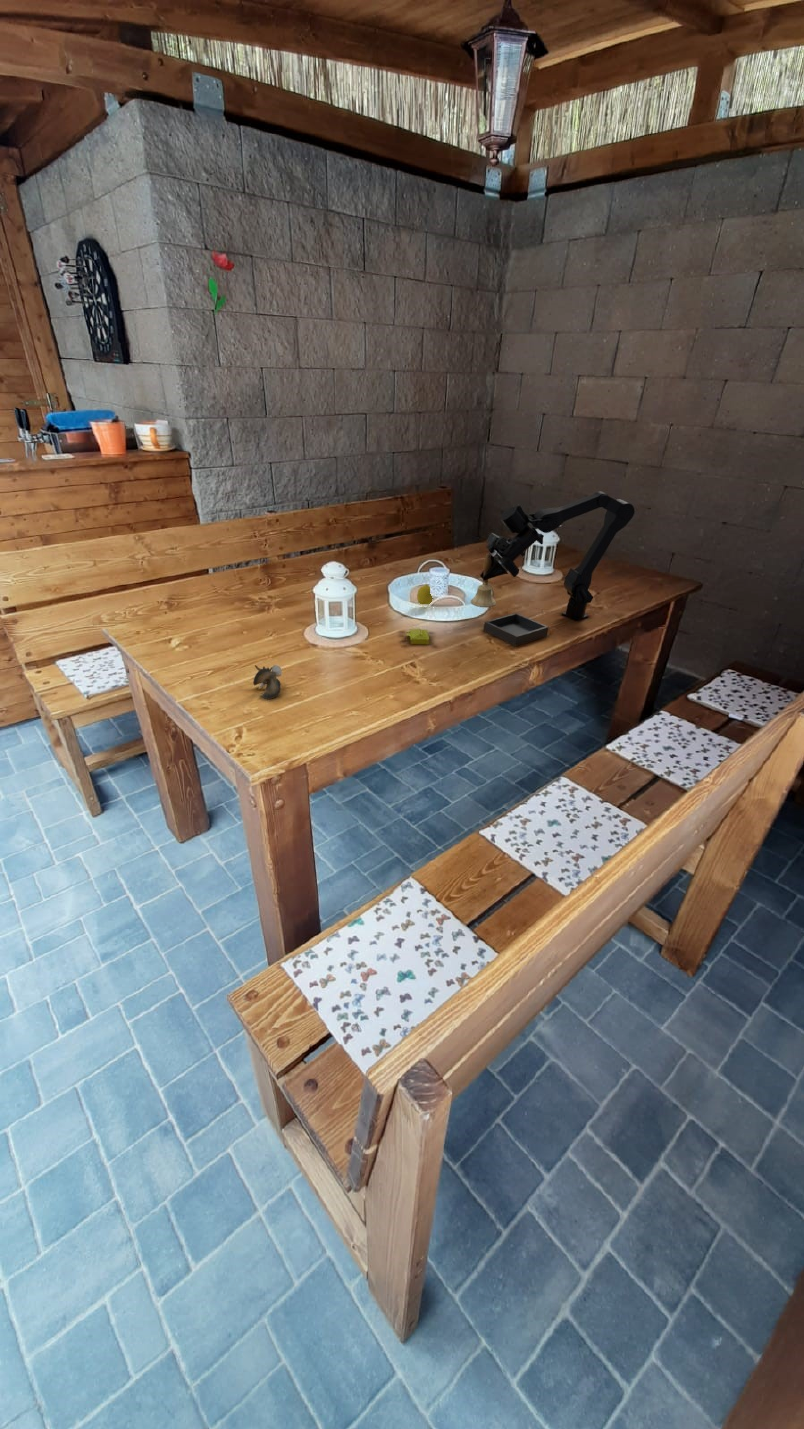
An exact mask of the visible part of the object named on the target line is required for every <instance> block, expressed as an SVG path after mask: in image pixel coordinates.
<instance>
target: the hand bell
mask: <svg viewBox="0 0 804 1429" xmlns="http://www.w3.org/2000/svg"><path fill="white" fill-rule="evenodd" d="M490 554H491V553H490ZM490 554H489V553H486V554H485V557H484V559H483V562H482V571H484V575H485V573H486V572H487V571H488V570H489V569H490V568H491V557H490ZM470 604H471V605H472V606H475V607H478V608H492V607H495V606H496V605H497V602H496V600H495V599H494V597H493V588H492V586H490V585H489V579H487V580H483V579H482V584H479V585H478V587H477V589H476V593H475V595H474V597H472V598H471V599H470Z"/></svg>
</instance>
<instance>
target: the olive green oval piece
mask: <svg viewBox="0 0 804 1429" xmlns="http://www.w3.org/2000/svg"><path fill="white" fill-rule="evenodd" d="M430 587H431V586H430V585H428V584H425V585H422V586H420V587H419V589H418V590H417V594H416V600H417V602H418V604H419V603H420V604H430V603H431V602H432V599H433V600H434V598H432V596H431V594H430ZM432 603H433V602H432ZM432 603H431V604H432ZM420 604H419V605H420ZM431 604H430V605H431Z"/></svg>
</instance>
